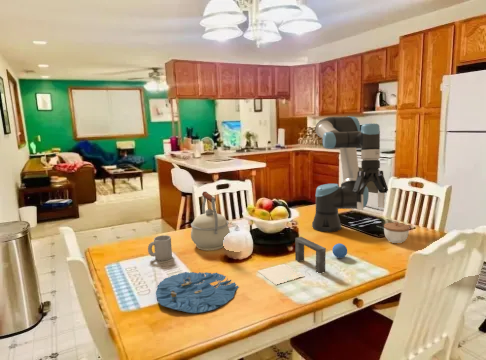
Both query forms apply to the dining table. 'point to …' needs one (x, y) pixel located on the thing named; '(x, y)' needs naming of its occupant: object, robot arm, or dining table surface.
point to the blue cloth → (195, 292)
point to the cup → (161, 247)
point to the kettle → (209, 227)
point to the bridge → (319, 249)
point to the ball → (339, 250)
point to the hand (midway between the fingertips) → (370, 208)
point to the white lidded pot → (396, 232)
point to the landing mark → (278, 273)
